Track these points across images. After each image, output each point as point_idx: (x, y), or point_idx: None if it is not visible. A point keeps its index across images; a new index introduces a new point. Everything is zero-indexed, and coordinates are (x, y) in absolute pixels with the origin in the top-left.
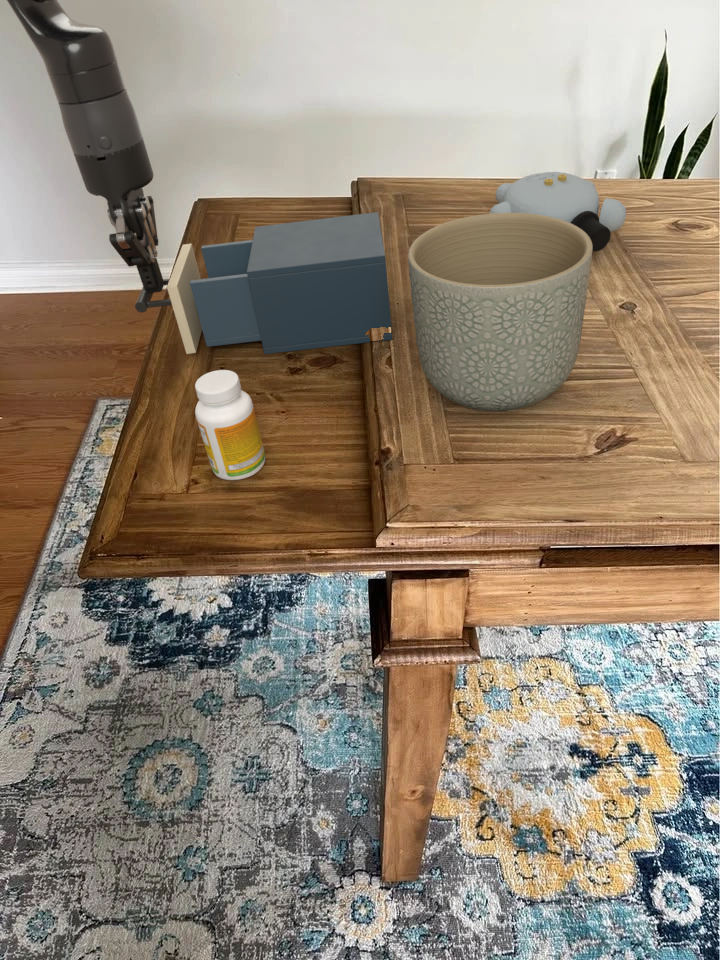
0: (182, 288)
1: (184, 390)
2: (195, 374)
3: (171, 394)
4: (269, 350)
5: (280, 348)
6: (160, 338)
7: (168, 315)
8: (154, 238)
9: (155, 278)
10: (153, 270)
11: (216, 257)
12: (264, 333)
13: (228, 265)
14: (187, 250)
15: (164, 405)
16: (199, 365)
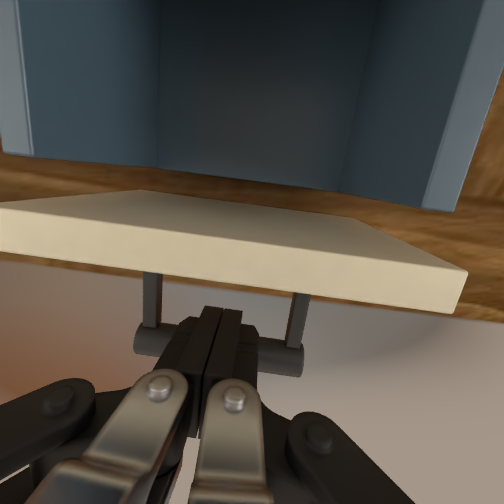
0: (369, 246)
1: (456, 241)
2: (405, 220)
3: (457, 265)
4: None
5: None
6: (228, 288)
7: (134, 275)
8: (64, 425)
9: (239, 344)
10: (235, 364)
11: (70, 99)
12: None
13: (96, 64)
14: (61, 225)
15: (489, 276)
16: (372, 212)
